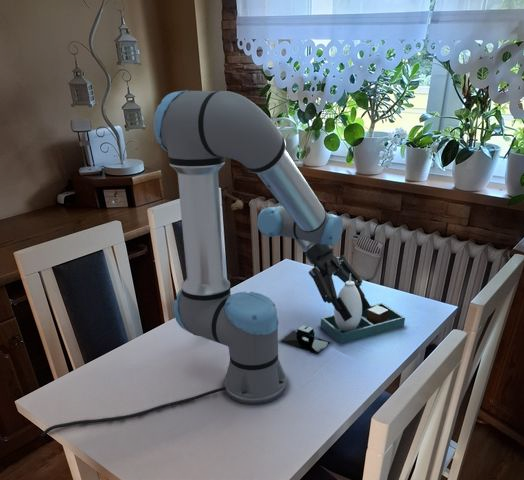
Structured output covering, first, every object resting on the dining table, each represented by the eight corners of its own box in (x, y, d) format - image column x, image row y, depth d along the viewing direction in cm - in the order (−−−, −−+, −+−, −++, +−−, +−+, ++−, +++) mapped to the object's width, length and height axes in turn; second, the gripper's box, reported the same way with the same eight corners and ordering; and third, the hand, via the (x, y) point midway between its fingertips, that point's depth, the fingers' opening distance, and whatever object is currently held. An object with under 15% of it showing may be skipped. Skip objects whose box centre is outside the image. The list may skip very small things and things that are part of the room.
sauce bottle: (362, 326, 144) (367, 269, 135) (357, 339, 138) (362, 280, 129) (336, 322, 147) (339, 266, 137) (330, 335, 141) (333, 277, 131)
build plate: (330, 343, 137) (331, 329, 135) (317, 355, 132) (317, 340, 130) (293, 331, 144) (293, 317, 141) (279, 342, 139) (279, 328, 136)
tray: (340, 344, 136) (341, 334, 135) (320, 327, 145) (320, 317, 143) (403, 327, 143) (405, 317, 142) (381, 312, 152) (382, 302, 151)
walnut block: (377, 327, 143) (379, 314, 141) (366, 322, 146) (367, 309, 144) (387, 323, 146) (388, 309, 143) (375, 317, 149) (377, 305, 146)
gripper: (331, 243, 148) (370, 307, 146) (283, 262, 136) (326, 332, 134) (345, 229, 141) (387, 296, 140) (297, 248, 129) (342, 321, 128)
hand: (357, 313), depth 137 cm, fingers closed on sauce bottle, 8 cm apart
